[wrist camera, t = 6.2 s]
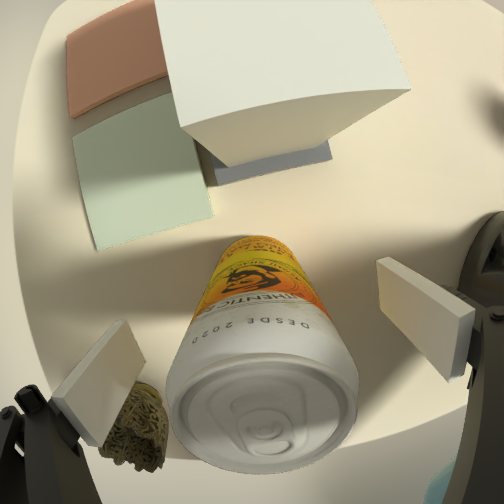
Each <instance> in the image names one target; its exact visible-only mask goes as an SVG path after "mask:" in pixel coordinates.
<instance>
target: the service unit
mask: <svg viewBox="0 0 504 504" xmlns="http://www.w3.org/2000/svg"><path fill="white" fill-rule="evenodd" d="M154 1H155V7H156V12H157V18H158V24H159V29H160V34H161V40H162V45H163V50H164V55H165V60H166V65H167V70H168V74H169V79H170V84H171V88H172V93H173V98H174V102H175V106H176V111H177V115H178V120H179V124H180V128H182V129H183V130H184V131H185V132H187V133H188V134H189V135H190V136H192V137H193V138H194V139H195V140H196V141H198V142H199V143H200V144H201V145H203V146H204V147H205V148H206V149H207V150H209V153H210V157H211V161H212V165H213V169H214V172H215V176H216V180H217V184H218V186H222V185H226V184H230V183H233V182H237V181H241V180H245V179H249V178H253V177H257V176H261V175H265V174H269V173H274V172H278V171H282V170H287V169H291V168H296V167H300V166H305V165H310V164H315V163H320V162H325V161H329V160H331V159H332V155H331V151H330V147H329V143H328V139H330V138H331V137H333V136H334V135H336V134H337V133H339V132H341V131H342V130H344V129H345V128H347V127H349V126H350V125H352V124H353V123H355V122H357V121H358V120H360V119H362V118H363V117H365V116H367V115H368V114H370V113H372V112H373V111H375V110H377V109H378V108H380V107H382V106H383V105H385V104H387V103H388V102H390V101H392V100H394V99H395V98H397V97H399V96H401V95H402V94H404V93H406V92H408V91H409V90H411V89H412V87H411V84H410V81H409V79H408V76H407V73H406V71H405V68H404V66H403V63H402V61H401V58H400V56H399V54H398V52H397V49H396V47H395V45H394V43H393V41H392V38H391V36H390V34H389V32H388V30H387V28H386V26H385V24H384V22H383V20H382V18H381V17H380V15H379V13H378V11H377V9H376V8H375V6H374V4H373V2H372V1H371V0H154Z"/></svg>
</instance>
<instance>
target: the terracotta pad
mask: <svg viewBox="0 0 504 504" xmlns="http://www.w3.org/2000/svg"><path fill="white" fill-rule="evenodd" d="M167 75H169V74H168V70H167V65H166V60H165V55H164V50H163V45H162V40H161V34H160V29H159V24H158V18H157V12H156V7H155V1H154V0H134V1H132V2H129V3H127V4H125V5H123V6H120V7H118V8H116V9H114V10H112V11H110V12H108V13H106V14H104V15H102V16H100V17H98V18H97V19H95V20H93V21H91V22H89V23H88V24H86V25H84V26H82V27H81V28H79V29H77V30H76V31H74V32H72V33H71V34H69V35H68V36H67V91H68V105H69V116H70V117H72V118H76V117H78V116H80V115H81V114H83V113H85V112H87V111H89V110H91V109H93V108H94V107H96V106H98V105H100V104H102V103H104V102H106V101H108V100H110V99H112V98H114V97H117V96H119V95H121V94H123V93H125V92H127V91H130V90H132V89H134V88H137V87H139V86H141V85H144V84H146V83H149V82H151V81H154V80H156V79H159V78H162V77H165V76H167Z"/></svg>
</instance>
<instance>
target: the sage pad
mask: <svg viewBox="0 0 504 504" xmlns="http://www.w3.org/2000/svg"><path fill="white" fill-rule="evenodd" d="M72 141H73V147H74V154H75V160H76V165H77V171H78V176H79V181H80V186H81V190H82V195H83V199H84V203H85V207H86V211H87V215H88V219H89V223H90V227H91V230H92V234H93V237H94V241H95V244H96V247H97V250H98V251H100V250H103V249H106V248H110V247H113V246H116V245H119V244H122V243H125V242H129V241H132V240H135V239H138V238H142V237H145V236H148V235H152V234H155V233H158V232H162V231H165V230H168V229H172V228H175V227H179V226H182V225H186V224H189V223H193V222H197V221H200V220H204V219H208V218H211V217H214V213H213V209H212V205H211V201H210V198H209V194H208V190H207V186H206V182H205V179H204V175H203V171H202V167H201V163H200V159H199V155H198V151H197V147H196V143H195V139H194V138H193V137H192V136H190V135H189V134H188V133H187V132H185V131H184V130H183V129H182V128H180V124H179V120H178V115H177V111H176V106H175V102H174V98H173V93H172V92H170V93H167V94H164V95H162V96H159V97H156V98H154V99H151V100H149V101H146V102H144V103H141V104H139V105H136V106H134V107H132V108H129V109H127V110H125V111H123V112H120V113H118V114H116V115H114V116H112V117H110V118H107V119H105V120H103V121H101V122H99V123H97V124H95V125H93V126H91V127H90V128H88V129H86V130H84V131H82V132H80V133H78V134H77V135H75V136H73V137H72Z"/></svg>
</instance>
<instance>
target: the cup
mask: <svg viewBox="0 0 504 504" xmlns="http://www.w3.org/2000/svg"><path fill="white" fill-rule="evenodd" d="M168 428H169V424H168V417H167V414H166V411H165V409H164V408H163V406H162V399H161V396H160V394H159V393H158V392H157V390H155V389H154V388H153V387H151V386H149V385H146V384H135V385H133V387H132V388H131V390H130V392H129V394H128V396H127V398H126V400H125V402H124V404H123V406H122V408H121V410H120V412H119V414H118V415H117V417H116V419H115V421H114V423H113V425H112V427H111V429H110V431H109V433H108V435H107V437H106V439H105V441H104V444H103V446H102V448H101V447H98V450H99V453H100V455H101V456H102V457H105V458H113V459H114V463H115V464H116V465H122V464H123V463H124V462H125V461H128V462H129V463H130V464H131V463H134V464H135V468H134V469H135V470H136V471H138V472H140V471H141V470H143V469H145V470H146V471H148V472H151V473H153V472H154V471H155V470H156V469H157V467H158V466H159V468H162V465H163V463H164V461H165V452H166V446H167V438H168ZM123 461H124V462H123ZM122 462H123V463H122Z"/></svg>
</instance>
